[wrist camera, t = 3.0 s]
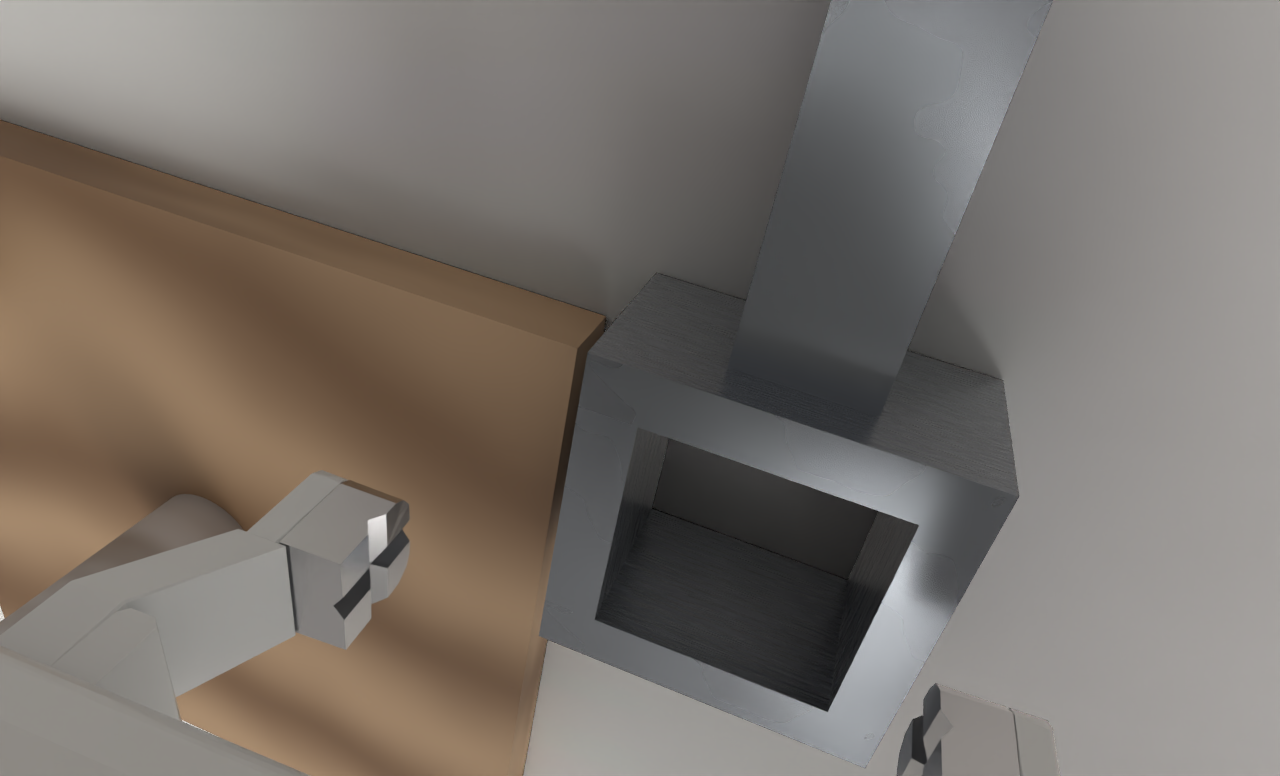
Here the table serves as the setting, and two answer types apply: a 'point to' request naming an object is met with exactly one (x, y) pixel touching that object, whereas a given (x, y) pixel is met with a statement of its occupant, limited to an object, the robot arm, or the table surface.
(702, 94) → the table surface
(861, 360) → the square loop paddle
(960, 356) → the table surface
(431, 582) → the base
